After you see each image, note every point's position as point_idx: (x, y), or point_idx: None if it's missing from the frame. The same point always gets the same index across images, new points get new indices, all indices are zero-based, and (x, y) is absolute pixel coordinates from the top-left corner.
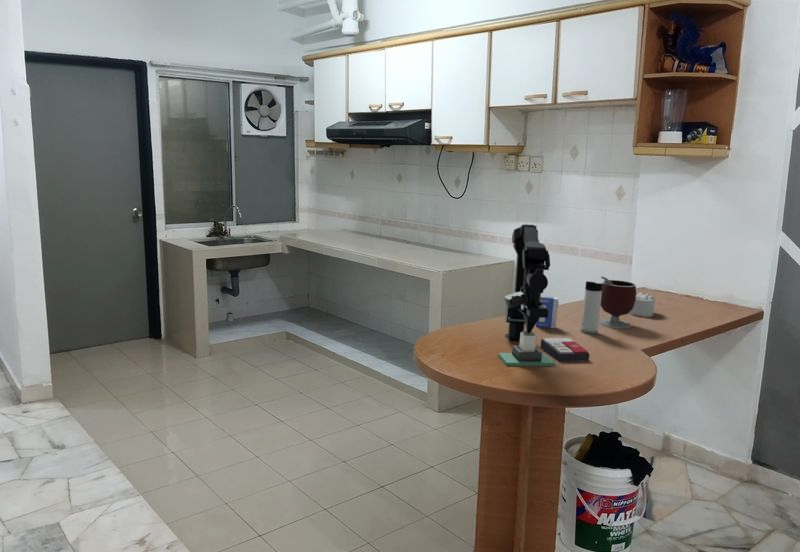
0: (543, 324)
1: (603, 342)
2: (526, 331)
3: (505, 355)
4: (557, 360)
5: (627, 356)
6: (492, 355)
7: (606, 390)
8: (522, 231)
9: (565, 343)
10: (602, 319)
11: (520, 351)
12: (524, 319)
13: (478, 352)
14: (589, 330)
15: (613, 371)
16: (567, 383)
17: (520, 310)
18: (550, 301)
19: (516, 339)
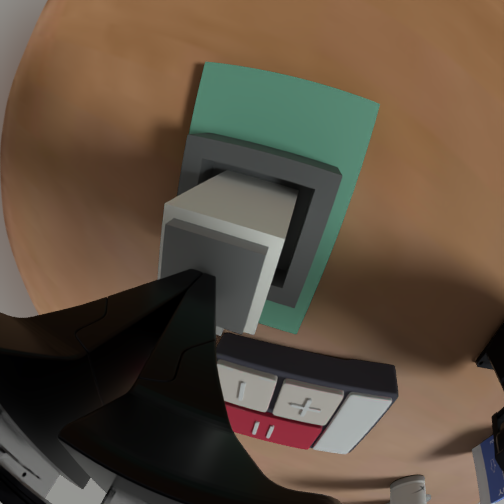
0: None
1: (338, 478)
2: (237, 285)
3: (325, 114)
4: (233, 334)
5: None
6: (389, 79)
7: (24, 275)
8: None
9: (300, 427)
10: (429, 499)
11: (203, 152)
12: (211, 359)
13: (445, 47)
14: (399, 485)
15: None
16: (41, 214)
17: (88, 459)
18: (496, 494)
19: (499, 333)
